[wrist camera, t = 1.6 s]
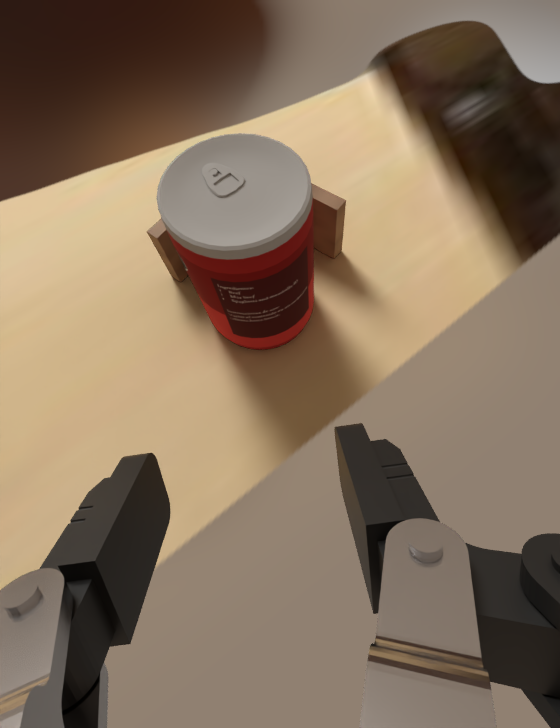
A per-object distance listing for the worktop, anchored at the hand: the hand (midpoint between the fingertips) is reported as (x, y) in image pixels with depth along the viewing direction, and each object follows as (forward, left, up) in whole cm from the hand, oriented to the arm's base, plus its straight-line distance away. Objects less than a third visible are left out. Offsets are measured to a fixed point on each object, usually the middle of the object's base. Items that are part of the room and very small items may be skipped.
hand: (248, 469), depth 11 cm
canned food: (0, +14, -14) cm, 20 cm away
